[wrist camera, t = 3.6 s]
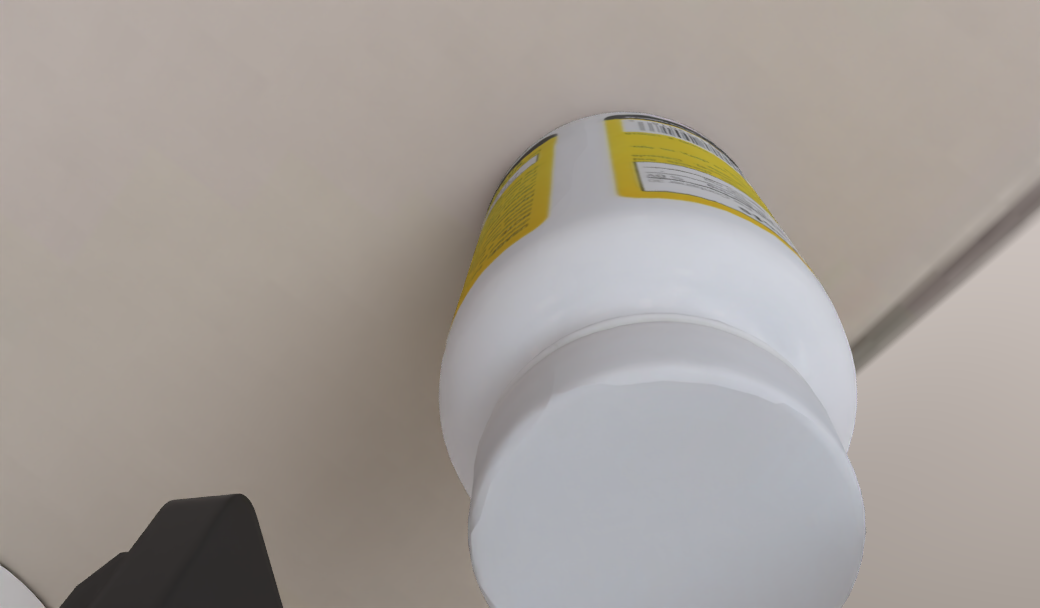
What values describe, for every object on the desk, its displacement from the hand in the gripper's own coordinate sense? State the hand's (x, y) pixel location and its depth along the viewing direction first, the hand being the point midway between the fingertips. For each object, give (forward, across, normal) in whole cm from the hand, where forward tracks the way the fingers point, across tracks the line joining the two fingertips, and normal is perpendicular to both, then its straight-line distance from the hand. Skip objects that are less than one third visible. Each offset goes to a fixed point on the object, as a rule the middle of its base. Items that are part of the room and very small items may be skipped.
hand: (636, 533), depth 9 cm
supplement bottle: (+10, 0, 0) cm, 10 cm away
